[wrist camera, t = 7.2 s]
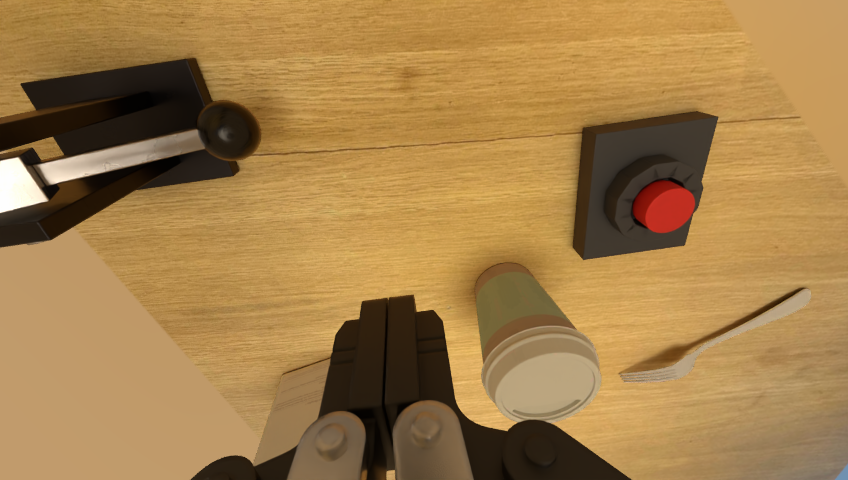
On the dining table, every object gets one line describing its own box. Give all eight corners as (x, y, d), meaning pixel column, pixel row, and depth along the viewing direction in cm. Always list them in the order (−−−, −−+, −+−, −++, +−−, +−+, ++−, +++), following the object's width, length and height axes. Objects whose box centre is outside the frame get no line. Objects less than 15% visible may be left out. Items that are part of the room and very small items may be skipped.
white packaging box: (314, 412, 43) (286, 542, 32) (281, 372, 40) (236, 503, 28) (372, 395, 42) (363, 521, 31) (343, 352, 39) (321, 478, 28)
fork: (787, 288, 41) (814, 302, 39) (625, 384, 44) (640, 403, 42) (784, 271, 40) (812, 285, 38) (617, 371, 43) (632, 390, 40)
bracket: (195, 57, 25) (28, 76, 13) (239, 171, 29) (139, 258, 17) (34, 81, 25) (-263, 119, 14) (101, 191, 29) (-88, 290, 18)
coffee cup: (446, 307, 37) (465, 416, 26) (487, 237, 33) (528, 332, 22) (518, 329, 39) (563, 439, 28) (564, 266, 35) (635, 365, 25)
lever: (243, 93, 23) (254, 96, 20) (262, 147, 24) (274, 157, 22) (-51, 148, 17) (-88, 162, 14) (0, 214, 19) (-25, 237, 16)
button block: (582, 127, 29) (608, 140, 25) (697, 111, 29) (739, 121, 25) (572, 247, 34) (592, 271, 31) (668, 233, 34) (700, 256, 30)
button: (636, 183, 27) (650, 192, 26) (683, 176, 27) (701, 184, 26) (628, 226, 29) (641, 236, 28) (674, 219, 29) (689, 229, 27)
